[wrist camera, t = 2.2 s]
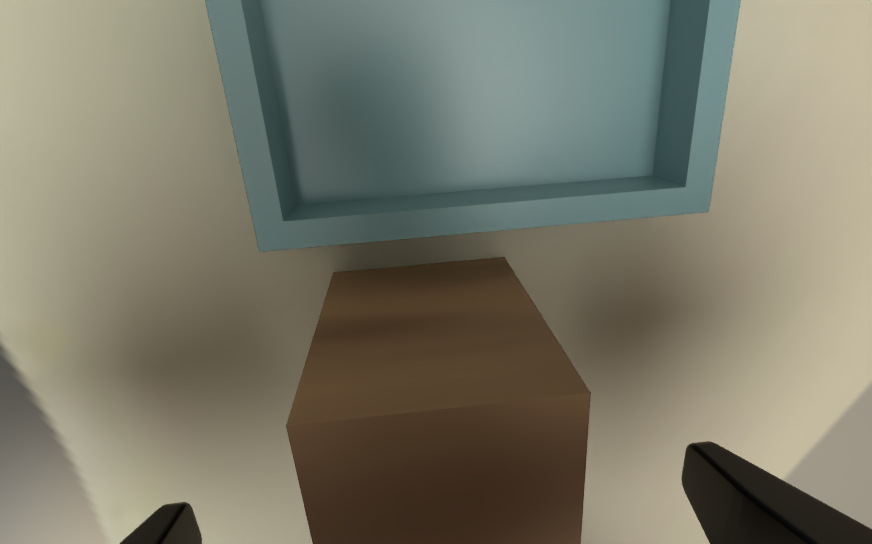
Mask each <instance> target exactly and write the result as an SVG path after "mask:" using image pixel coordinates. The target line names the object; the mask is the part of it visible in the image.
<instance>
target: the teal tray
mask: <svg viewBox="0 0 872 544" xmlns="http://www.w3.org/2000/svg"><path fill="white" fill-rule="evenodd" d="M740 1H741V0H205V2H206V7H207V12H208V16H209V21H210V26H211V30H212V35H213V40H214V44H215V49H216V54H217V58H218V63H219V67H220V72H221V77H222V81H223V86H224V91H225V95H226V100H227V105H228V109H229V114H230V119H231V123H232V128H233V132H234V137H235V142H236V146H237V151H238V156H239V160H240V165H241V170H242V174H243V179H244V184H245V188H246V193H247V197H248V202H249V207H250V211H251V216H252V221H253V225H254V230H255V235H256V239H257V244H258V249H259V252H264V251H275V250H286V249H298V248H309V247H320V246H331V245H343V244H354V243H365V242H377V241H388V240H399V239H411V238H422V237H433V236H444V235H456V234H467V233H478V232H490V231H501V230H512V229H523V228H535V227H546V226H557V225H569V224H580V223H591V222H602V221H614V220H625V219H636V218H648V217H659V216H670V215H681V214H693V213H704V212H709V206H710V199H711V193H712V186H713V179H714V173H715V166H716V160H717V153H718V146H719V140H720V133H721V127H722V120H723V113H724V107H725V100H726V94H727V87H728V80H729V74H730V67H731V61H732V54H733V47H734V41H735V34H736V28H737V21H738V14H739V8H740Z"/></svg>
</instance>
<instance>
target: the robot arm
mask: <svg viewBox="0 0 872 544" xmlns="http://www.w3.org/2000/svg"><path fill="white" fill-rule="evenodd" d="M682 485H683V488H684V491H685V493H686V495H687V497H688V499H689V501H690V504H691V506H692V508H693V510H694V512H695V514H696V516H697V518H698V520H699V522H700V524H701V526H702V528H703V530H704V532H705V534H706V536H707V538H708V540H709V542H710V544H872V529H870V528H869V527H867V526H864V525H863V524H861V523H860V522H858V521H856V520H854V519H852V518H850V517H849V516H847V515H845V514H843V513H841V512H839V511H838V510H836V509H834V508H832V507H830V506H828V505H827V504H825V503H823V502H821V501H819V500H818V499H815V498H814V497H812V496H810V495H808V494H807V493H804V492H803V491H801V490H799V489H798V488H796V487H794V486H792V485H790V484H788V483H787V482H785V481H783V480H781V479H779V478H778V477H776V476H774V475H772V474H770V473H768V472H767V471H765V470H763V469H761V468H759V467H757V466H756V465H754V464H752V463H750V462H748V461H747V460H745V459H743V458H741V457H739V456H737V455H736V454H734V453H732V452H730V451H728V450H726V449H725V448H723V447H721V446H719V445H717V444H715V443H713V442H708V441H707V442H698V443H691V444H689V445H688V446H687V448H686V453H685V459H684V465H683V471H682ZM120 544H202V537H201V533H200V530H199V527H198V524H197V521H196V518H195V515H194V512H193V509H192V507H191V505H190V504H189V503H186V502H181V503H173V504H166V505H163V506H162V507H160V508H159V509H158V510H157V511H155V512H154V513H153V514H152V515H151V516H150V517H149V518H148V519H146V520H145V521H144V522H143V523H142V524H141V525H140V526H139V527H137V528H136V529H135V530H134V531H133V532H132V533H131V534H130V535H128V536H127V537H126V538H125V539H124V540H123V541H122V542H121V543H120Z"/></svg>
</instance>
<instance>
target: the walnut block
mask: <svg viewBox="0 0 872 544" xmlns="http://www.w3.org/2000/svg"><path fill="white" fill-rule="evenodd" d="M589 408H590V391H589V390H588V388H587V387H586V385H585V383H584V382H583V380H582V379H581V377H580V376H579V374H578V372H577V371H576V369H575V368H574V366H573V365H572V363H571V361H570V360H569V358H568V357H567V355H566V354H565V352H564V350H563V349H562V347H561V346H560V344H559V343H558V341H557V339H556V338H555V336H554V335H553V333H552V331H551V330H550V328H549V327H548V325H547V324H546V322H545V320H544V319H543V317H542V316H541V314H540V313H539V311H538V309H537V308H536V306H535V305H534V303H533V302H532V300H531V298H530V297H529V295H528V294H527V292H526V291H525V289H524V287H523V286H522V284H521V283H520V281H519V280H518V278H517V276H516V275H515V273H514V272H513V270H512V269H511V267H510V265H509V264H508V262H507V261H506V259H505V257H500V258H489V259H479V260H468V261H457V262H446V263H435V264H424V265H414V266H403V267H392V268H381V269H370V270H359V271H348V272H338V273H333V275H332V279H331V282H330V285H329V288H328V292H327V295H326V298H325V301H324V305H323V308H322V311H321V314H320V318H319V321H318V324H317V327H316V331H315V334H314V337H313V340H312V344H311V347H310V350H309V353H308V357H307V360H306V363H305V366H304V370H303V373H302V376H301V379H300V383H299V386H298V389H297V392H296V396H295V399H294V402H293V405H292V409H291V412H290V415H289V418H288V422H287V425H286V427H287V432H288V436H289V441H290V445H291V449H292V454H293V458H294V463H295V467H296V471H297V476H298V480H299V485H300V489H301V494H302V498H303V502H304V507H305V511H306V516H307V520H308V524H309V529H310V533H311V538H312V542H313V544H581V529H582V514H583V499H584V484H585V469H586V454H587V439H588V424H589Z"/></svg>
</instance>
